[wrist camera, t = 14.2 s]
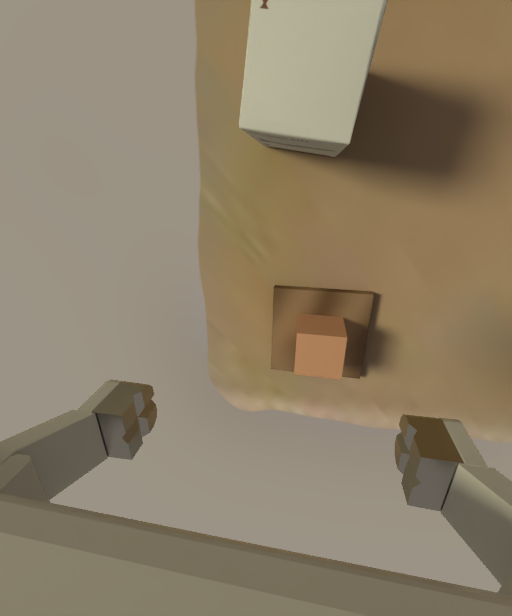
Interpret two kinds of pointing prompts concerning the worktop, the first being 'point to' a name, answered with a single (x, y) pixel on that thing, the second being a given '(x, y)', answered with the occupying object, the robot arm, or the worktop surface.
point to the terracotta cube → (320, 346)
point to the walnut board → (323, 303)
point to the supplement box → (307, 71)
